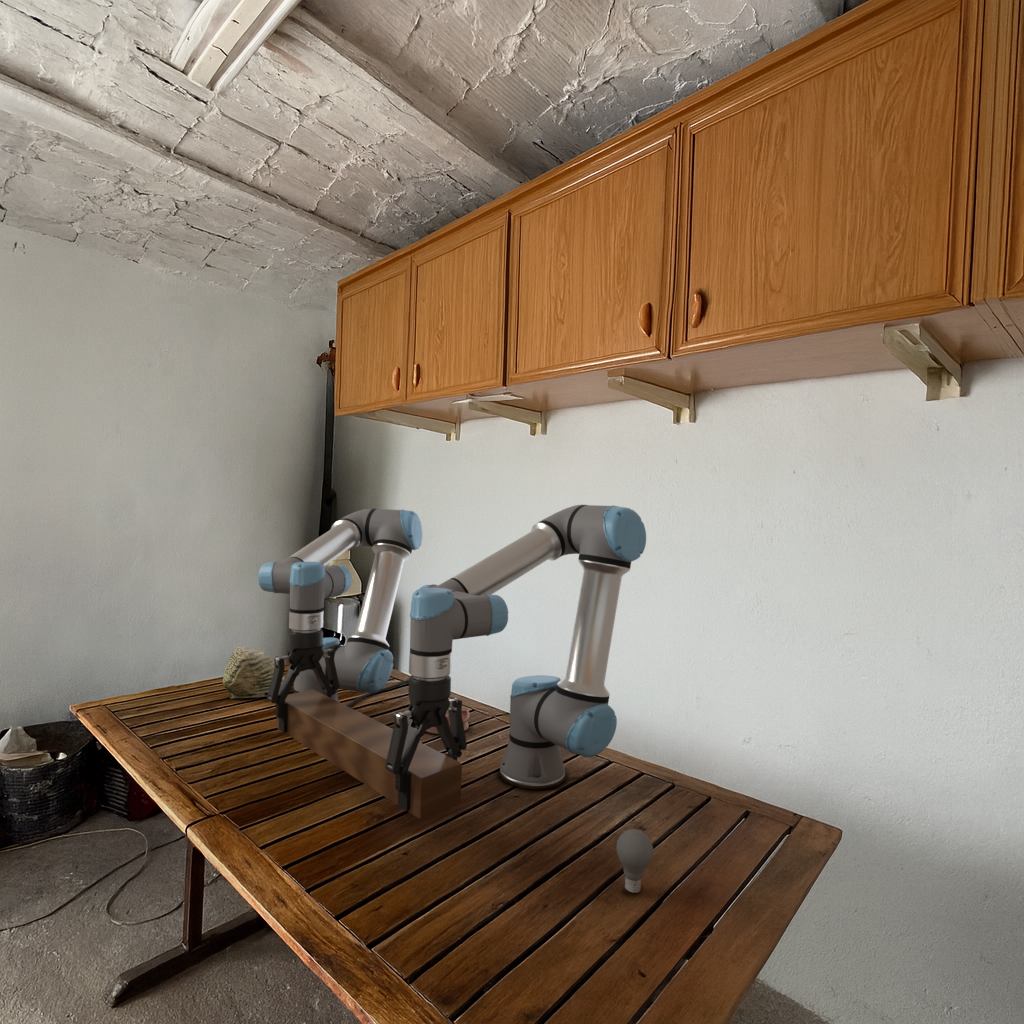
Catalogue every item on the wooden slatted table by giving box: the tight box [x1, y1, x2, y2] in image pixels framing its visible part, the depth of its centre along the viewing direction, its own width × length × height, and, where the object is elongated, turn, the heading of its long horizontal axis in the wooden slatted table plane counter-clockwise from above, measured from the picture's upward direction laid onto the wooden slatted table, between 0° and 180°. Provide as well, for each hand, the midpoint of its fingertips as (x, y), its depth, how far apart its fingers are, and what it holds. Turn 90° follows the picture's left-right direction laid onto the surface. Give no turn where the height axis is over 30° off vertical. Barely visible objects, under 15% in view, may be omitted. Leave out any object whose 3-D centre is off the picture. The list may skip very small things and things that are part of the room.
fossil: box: [222, 646, 286, 699], centre depth 198 cm, size 9×18×15 cm, turn 132°
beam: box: [275, 689, 463, 820], centre depth 130 cm, size 55×9×7 cm, turn 46°
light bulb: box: [615, 828, 654, 894], centre depth 106 cm, size 6×6×10 cm
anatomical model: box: [425, 709, 471, 735], centre depth 177 cm, size 13×4×12 cm
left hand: (303, 725), depth 146 cm, fingers closed on beam, 9 cm apart
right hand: (426, 798), depth 114 cm, fingers closed on beam, 9 cm apart
